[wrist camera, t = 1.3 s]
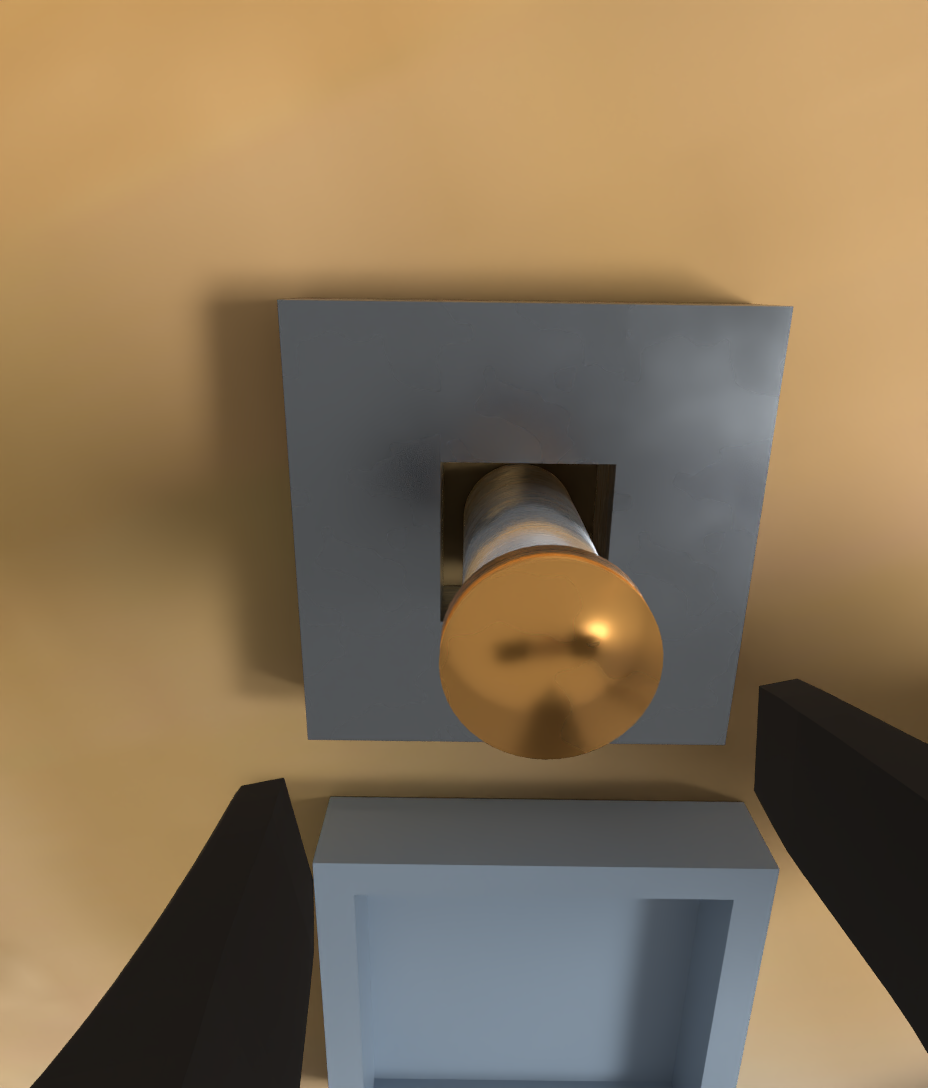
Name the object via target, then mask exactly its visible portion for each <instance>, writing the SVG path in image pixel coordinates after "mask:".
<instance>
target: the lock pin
mask: <svg viewBox="0 0 928 1088" xmlns="http://www.w3.org/2000/svg"><path fill="white" fill-rule="evenodd" d="M662 668H663V645H662V639H661V635H660V631H659V627H658V625H657V623H656V620H655V618H654V616H653V614H652V612H651V610H650V609H649V607H648V605H647V603H646V601H645V600H644V598H643V596H642V595H641V593H640V591H639V590H638V588H637V586H636V585H635V584H634V583H633V582H632V580H631V579H630V578H629V577H628V576H627V575H626V574H625V573H624V572H623V571H622V570H621V569H620V568H618V567H617V566H616V565H614V564H613V563H611V562H610V561H608V560H607V559H605V558H603V557H601V556H599V555H598V553H597V551H596V549H595V547H594V545H593V543H592V541H591V539H590V537H589V535H588V533H587V531H586V529H585V527H584V524H583V522H582V520H581V518H580V516H579V514H578V512H577V510H576V508H575V506H574V504H573V502H572V500H571V498H570V496H569V493H568V491H567V490H566V488H565V487H564V485H563V484H562V483H561V482H560V480H559V479H558V478H556V477H555V476H554V475H553V474H551V473H550V472H549V471H547V470H545V469H543V468H540V467H537V466H534V465H530V464H510V465H505V466H502V467H499V468H497V469H495V470H492V471H491V472H489V473H488V474H486V475H485V476H484V477H482V478H481V479H480V480H479V481H478V482H477V483H476V485H475V486H474V487H473V489H472V490H471V492H470V494H469V496H468V498H467V501H466V505H465V509H464V535H463V584H462V586H461V587H460V588H459V590H458V591H457V592H456V594H455V595H454V597H453V599H452V601H451V603H450V604H449V606H448V609H447V612H446V614H445V617H444V621H443V625H442V630H441V642H440V655H439V672H440V680H441V684H442V688H443V691H444V694H445V697H446V699H447V701H448V703H449V705H450V707H451V709H452V710H453V712H454V714H455V715H456V716H457V717H458V719H459V720H460V721H461V723H462V724H463V725H464V726H465V727H466V728H467V729H468V730H469V731H470V732H471V733H473V734H474V735H475V736H477V737H478V738H479V739H481V740H482V741H484V742H485V743H487V744H489V745H491V746H492V747H495V748H497V749H499V750H501V751H504V752H506V753H510V754H513V755H516V756H521V757H526V758H532V759H561V758H568V757H574V756H578V755H581V754H585V753H588V752H591V751H593V750H596V749H598V748H601V747H602V746H604V745H606V744H608V743H610V742H612V741H613V740H615V739H616V738H618V737H619V736H621V735H622V734H624V733H625V732H626V731H627V730H628V729H629V728H630V727H632V726H633V725H634V724H635V723H636V721H637V720H638V719H639V718H640V717H641V716H642V715H643V713H644V712H645V710H646V709H647V707H648V706H649V704H650V703H651V701H652V699H653V697H654V695H655V693H656V691H657V688H658V685H659V682H660V679H661V673H662Z"/></svg>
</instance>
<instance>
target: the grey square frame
mask: <svg viewBox="0 0 928 1088" xmlns="http://www.w3.org/2000/svg"><path fill="white" fill-rule="evenodd" d="M277 303H278V318H279V332H280V346H281V361H282V375H283V389H284V403H285V418H286V432H287V446H288V461H289V475H290V489H291V504H292V518H293V532H294V547H295V561H296V575H297V589H298V604H299V618H300V632H301V647H302V661H303V675H304V690H305V704H306V718H307V732H308V740H375V741H452V742H484V741H482V740H481V739H479V738H478V737H477V736H475V735H474V734H473V733H471V732H470V731H469V730H468V729H467V728H466V727H465V726H464V725H463V724H462V723H461V721H460V720H459V719H458V717H457V716H456V715H455V714H454V712H453V710H452V709H451V707H450V705H449V703H448V701H447V699H446V697H445V694H444V691H443V688H442V684H441V680H440V672H439V655H440V642H441V630H442V625H443V621H444V617H445V614H446V612H447V609H448V606H449V604H450V603H451V601H452V599H453V597H454V595H455V594H456V592H457V591H458V590H459V588H460V587H461V586H443V462H470V463H546V464H598V468H597V481H596V494H595V508H594V521H593V534H592V543H593V545H594V547H595V549H596V551H597V553H598V555H599V556H601V557H603V558H605V559H607V560H608V561H610V562H611V563H613V564H614V565H616V566H617V567H618V568H620V569H621V570H622V571H623V572H624V573H625V574H626V575H627V576H628V577H629V578H630V579H631V580H632V582H633V583H634V584H635V585H636V586H637V588H638V590H639V591H640V593H641V595H642V596H643V598H644V600H645V601H646V603H647V605H648V607H649V609H650V610H651V612H652V614H653V616H654V618H655V620H656V623H657V625H658V627H659V631H660V635H661V639H662V645H663V668H662V673H661V679H660V682H659V685H658V688H657V691H656V693H655V695H654V697H653V699H652V701H651V703H650V704H649V706H648V707H647V709H646V710H645V712H644V713H643V715H642V716H641V717H640V718H639V719H638V720H637V721H636V723H635V724H634V725H633V726H632V727H630V728H629V729H628V730H627V731H626V732H625V733H624V734H622V735H621V736H619V737H618V738H616V739H615V740H613V741H612V742H610V743H608V744H683V745H725V741H726V735H727V729H728V722H729V716H730V709H731V703H732V697H733V690H734V684H735V677H736V671H737V665H738V658H739V652H740V645H741V639H742V633H743V626H744V620H745V613H746V607H747V601H748V594H749V588H750V581H751V575H752V569H753V562H754V556H755V549H756V543H757V537H758V530H759V524H760V517H761V511H762V505H763V498H764V492H765V485H766V479H767V473H768V466H769V460H770V453H771V447H772V441H773V434H774V428H775V421H776V415H777V409H778V402H779V396H780V389H781V383H782V377H783V370H784V364H785V357H786V351H787V345H788V338H789V332H790V325H791V319H792V313H793V306H777V305H761V304H713V303H637V302H561V301H484V300H408V299H332V298H295V299H281V300H277Z"/></svg>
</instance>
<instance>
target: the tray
mask: <svg viewBox="0 0 928 1088" xmlns="http://www.w3.org/2000/svg"><path fill="white" fill-rule="evenodd" d="M778 874H779V867H778V865H777V864H776V862H775V860H774V858H773V856H772V854H771V852H770V851H769V849H768V847H767V845H766V843H765V841H764V839H763V837H762V836H761V834H760V832H759V830H758V828H757V826H756V824H755V823H754V821H753V819H752V817H751V815H750V813H749V811H748V809H747V808H746V806H745V804H744V802H693V801H616V800H539V799H462V798H385V797H330V800H329V803H328V807H327V811H326V815H325V818H324V822H323V826H322V830H321V833H320V837H319V841H318V845H317V848H316V852H315V856H314V859H313V877H314V891H315V905H316V918H317V932H318V946H319V960H320V974H321V988H322V1001H323V1015H324V1029H325V1043H326V1057H327V1071H328V1084H329V1088H736V1085H737V1080H738V1075H739V1070H740V1065H741V1060H742V1055H743V1050H744V1045H745V1040H746V1035H747V1030H748V1025H749V1020H750V1015H751V1010H752V1005H753V1000H754V995H755V990H756V985H757V980H758V975H759V970H760V965H761V960H762V955H763V949H764V944H765V939H766V934H767V929H768V924H769V919H770V914H771V909H772V904H773V899H774V894H775V889H776V884H777V879H778Z"/></svg>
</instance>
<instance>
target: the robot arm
mask: <svg viewBox="0 0 928 1088" xmlns="http://www.w3.org/2000/svg"><path fill="white" fill-rule="evenodd" d="M754 791H755V793H756V795H757V797H758V799H759V801H760V803H761V805H762V806H763V808H764V810H765V812H766V814H767V816H768V818H769V820H770V822H771V823H772V825H773V827H774V829H775V831H776V832H777V834H778V836H779V838H780V839H781V841H782V843H783V845H784V846H785V848H786V850H787V852H788V853H789V855H790V856H791V857H792V859H793V860H794V862H795V863H796V865H797V866H798V868H799V869H800V870H801V872H802V873H803V875H804V876H805V877H806V879H807V880H808V882H809V883H810V884H811V886H812V887H813V889H814V890H815V891H816V893H817V894H818V896H819V897H820V898H821V900H822V901H823V903H824V904H825V905H826V907H827V908H828V910H829V911H830V912H831V914H832V915H833V916H834V918H835V919H836V921H837V922H838V923H839V925H840V926H841V928H842V929H843V930H844V932H845V933H846V934H847V936H848V937H849V939H850V940H851V941H852V943H853V944H854V945H855V947H856V948H857V950H858V951H859V952H860V954H861V955H862V957H863V958H864V959H865V961H866V962H867V963H868V965H869V966H870V968H871V969H872V970H873V972H874V973H875V975H876V976H877V977H878V979H879V980H880V981H881V983H882V984H883V986H884V987H885V988H886V990H887V991H888V992H889V994H890V995H891V997H892V998H893V1000H894V1001H895V1003H896V1004H897V1006H898V1007H899V1009H900V1010H901V1012H902V1013H903V1015H904V1016H905V1018H906V1019H907V1021H908V1022H909V1024H910V1025H911V1027H912V1028H913V1030H914V1031H915V1033H916V1035H917V1036H918V1038H919V1040H920V1041H921V1043H922V1045H923V1046H924V1048H925V1050H926V1051H927V1053H928V744H926V743H924V742H922V741H920V740H918V739H916V738H914V737H912V736H910V735H908V734H906V733H905V732H903V731H901V730H899V729H897V728H895V727H893V726H891V725H889V724H887V723H885V722H883V721H881V720H879V719H877V718H875V717H873V716H871V715H869V714H868V713H866V712H864V711H862V710H860V709H858V708H856V707H854V706H852V705H850V704H848V703H846V702H844V701H842V700H840V699H838V698H836V697H834V696H833V695H831V694H829V693H827V692H825V691H823V690H820V689H818V688H816V687H814V686H812V685H810V684H808V683H806V682H803V681H801V680H799V679H794V680H788V681H783V682H778V683H773V684H768V685H762V686H759V702H758V722H757V743H756V764H755V784H754ZM313 955H314V898H313V878H312V875H311V871H310V868H309V864H308V861H307V857H306V854H305V850H304V847H303V843H302V840H301V836H300V833H299V829H298V825H297V822H296V818H295V815H294V811H293V808H292V804H291V801H290V797H289V794H288V790H287V787H286V783H285V780H284V778H280V779H275V780H269V781H264V782H259V783H254V784H249V785H244V786H241V787H240V789H239V790H238V791H237V792H236V794H235V795H234V797H233V799H232V800H231V802H230V804H229V806H228V807H227V809H226V811H225V812H224V814H223V816H222V818H221V819H220V821H219V823H218V824H217V826H216V828H215V830H214V831H213V833H212V835H211V836H210V838H209V840H208V841H207V843H206V845H205V846H204V848H203V850H202V851H201V853H200V855H199V856H198V858H197V859H196V861H195V863H194V864H193V866H192V868H191V869H190V871H189V872H188V874H187V875H186V877H185V879H184V880H183V882H182V883H181V885H180V886H179V888H178V890H177V891H176V893H175V894H174V896H173V897H172V899H171V900H170V902H169V904H168V905H167V907H166V908H165V910H164V911H163V913H162V914H161V916H160V917H159V919H158V920H157V922H156V923H155V925H154V926H153V928H152V929H151V931H150V932H149V934H148V935H147V936H146V938H145V939H144V941H143V942H142V944H141V945H140V946H139V948H138V949H137V951H136V952H135V953H134V955H133V956H132V958H131V959H130V961H129V962H128V963H127V965H126V966H125V968H124V969H123V970H122V972H121V973H120V975H119V976H118V978H117V979H116V980H115V982H114V983H113V985H112V986H111V987H110V989H109V990H108V991H107V993H106V994H105V995H104V997H103V998H102V999H101V1000H100V1002H99V1003H98V1004H97V1006H96V1007H95V1008H94V1010H93V1011H92V1012H91V1014H90V1015H89V1016H88V1018H87V1019H86V1020H85V1021H84V1023H83V1024H82V1025H81V1026H80V1028H79V1029H78V1030H77V1032H76V1033H75V1034H74V1035H73V1036H72V1038H71V1039H70V1040H69V1041H68V1043H67V1044H66V1045H65V1046H64V1048H63V1049H62V1050H61V1051H60V1053H59V1054H58V1055H57V1056H56V1057H55V1059H54V1060H53V1061H52V1062H51V1064H50V1065H49V1066H48V1067H47V1068H46V1070H45V1071H44V1072H43V1073H42V1074H41V1076H40V1077H39V1078H38V1079H37V1080H36V1081H35V1082H34V1084H33V1085H32V1086H31V1087H30V1088H300V1079H301V1070H302V1061H303V1052H304V1042H305V1033H306V1024H307V1014H308V1005H309V995H310V985H311V975H312V965H313Z"/></svg>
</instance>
